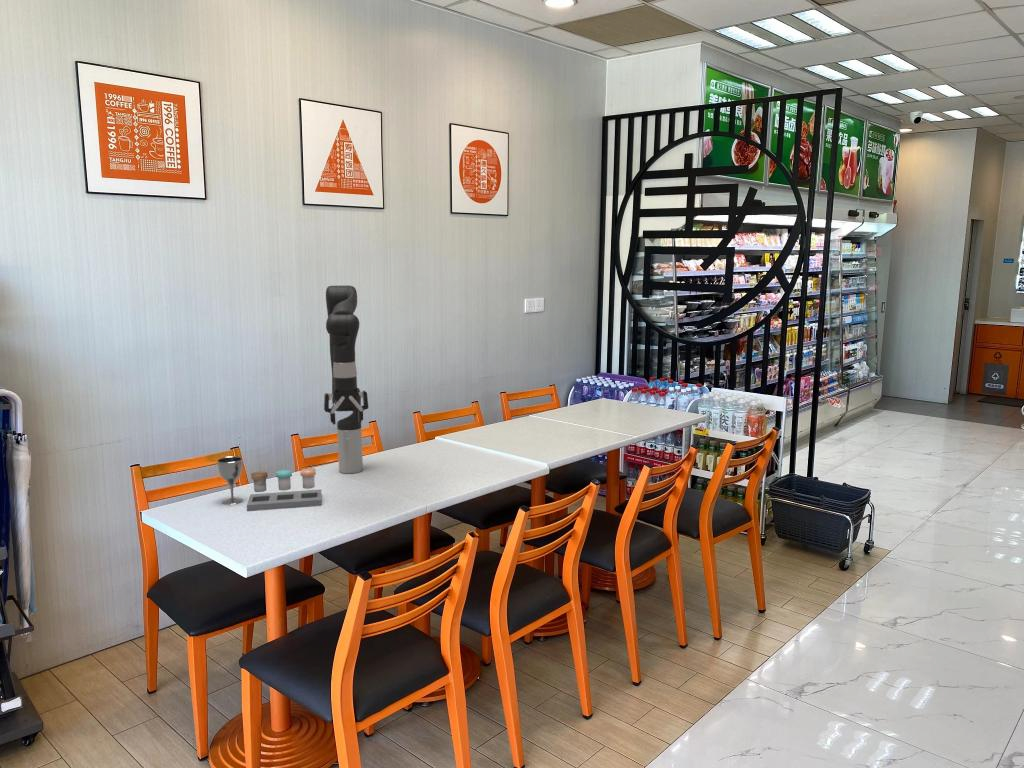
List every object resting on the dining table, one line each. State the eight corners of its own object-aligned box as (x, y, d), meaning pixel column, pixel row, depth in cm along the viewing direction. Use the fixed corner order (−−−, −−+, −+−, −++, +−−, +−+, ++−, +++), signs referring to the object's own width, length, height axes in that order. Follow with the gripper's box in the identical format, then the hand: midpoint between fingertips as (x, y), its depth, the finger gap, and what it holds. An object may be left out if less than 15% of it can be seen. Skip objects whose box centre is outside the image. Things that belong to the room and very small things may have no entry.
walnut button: (253, 488, 264) (252, 471, 263) (268, 487, 265) (267, 470, 264) (251, 493, 259) (250, 476, 258) (267, 492, 260) (266, 475, 259)
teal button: (277, 487, 266) (276, 470, 265) (292, 485, 267) (292, 469, 266) (276, 491, 261) (275, 474, 260) (292, 490, 262) (291, 473, 261)
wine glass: (216, 504, 263) (212, 462, 261) (227, 497, 271) (224, 456, 268) (237, 505, 262) (235, 462, 260) (248, 498, 270) (246, 456, 267)
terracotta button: (301, 485, 268) (300, 468, 267) (316, 484, 269) (315, 467, 268) (300, 489, 263) (299, 472, 262) (316, 488, 264) (315, 471, 263)
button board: (250, 499, 268) (250, 494, 267) (321, 494, 273) (321, 489, 273) (247, 511, 256) (246, 505, 256) (321, 505, 262) (320, 499, 261)
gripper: (364, 372, 259) (366, 419, 262) (321, 374, 255) (324, 422, 257) (368, 375, 252) (370, 423, 255) (324, 378, 248) (326, 427, 251)
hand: (347, 422), depth 256 cm, fingers open, 8 cm apart
